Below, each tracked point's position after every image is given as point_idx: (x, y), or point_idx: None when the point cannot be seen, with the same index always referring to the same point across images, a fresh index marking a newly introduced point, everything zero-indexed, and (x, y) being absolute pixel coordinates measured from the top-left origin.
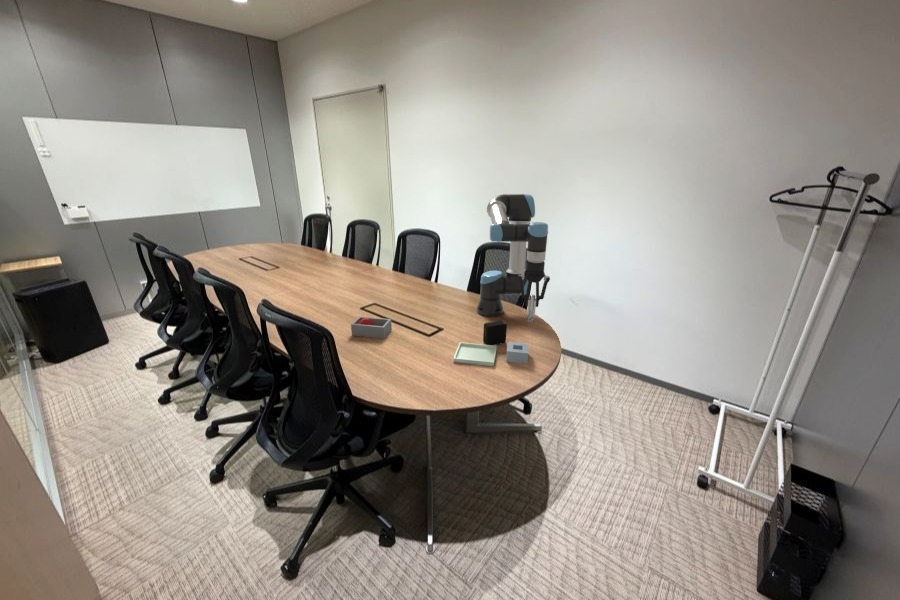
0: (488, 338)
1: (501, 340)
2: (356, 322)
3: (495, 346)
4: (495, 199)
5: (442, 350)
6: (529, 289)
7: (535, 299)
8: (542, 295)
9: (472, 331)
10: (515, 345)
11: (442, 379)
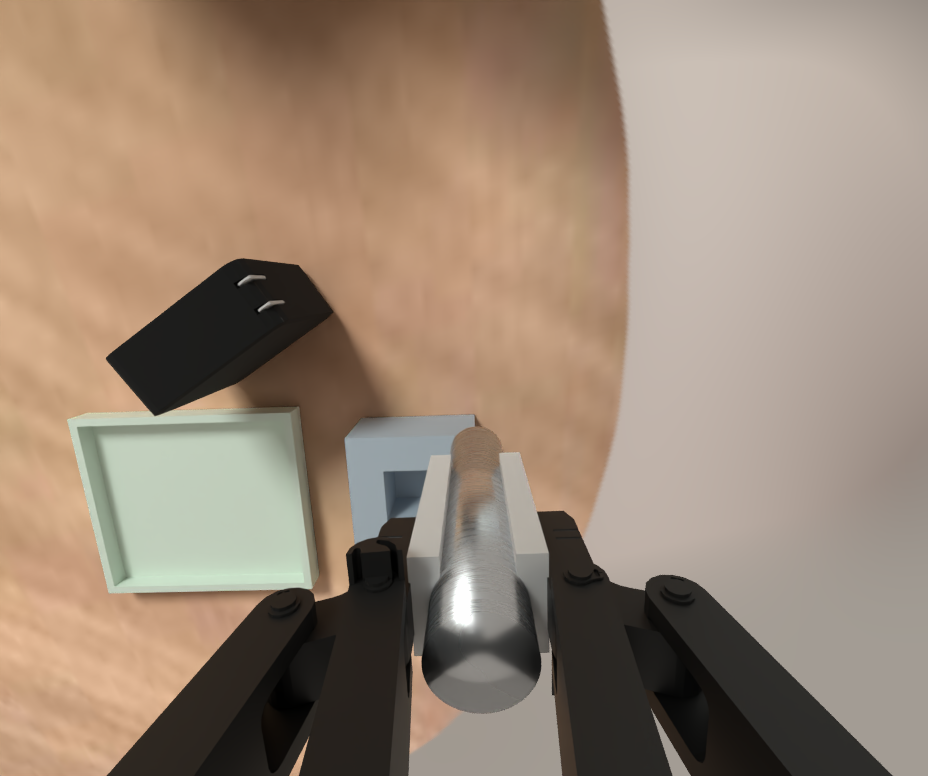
0: (215, 391)
1: (304, 332)
2: None
3: (284, 423)
4: None
5: (23, 486)
6: None
7: (538, 603)
8: (700, 747)
9: (86, 193)
10: (397, 469)
11: (138, 709)
